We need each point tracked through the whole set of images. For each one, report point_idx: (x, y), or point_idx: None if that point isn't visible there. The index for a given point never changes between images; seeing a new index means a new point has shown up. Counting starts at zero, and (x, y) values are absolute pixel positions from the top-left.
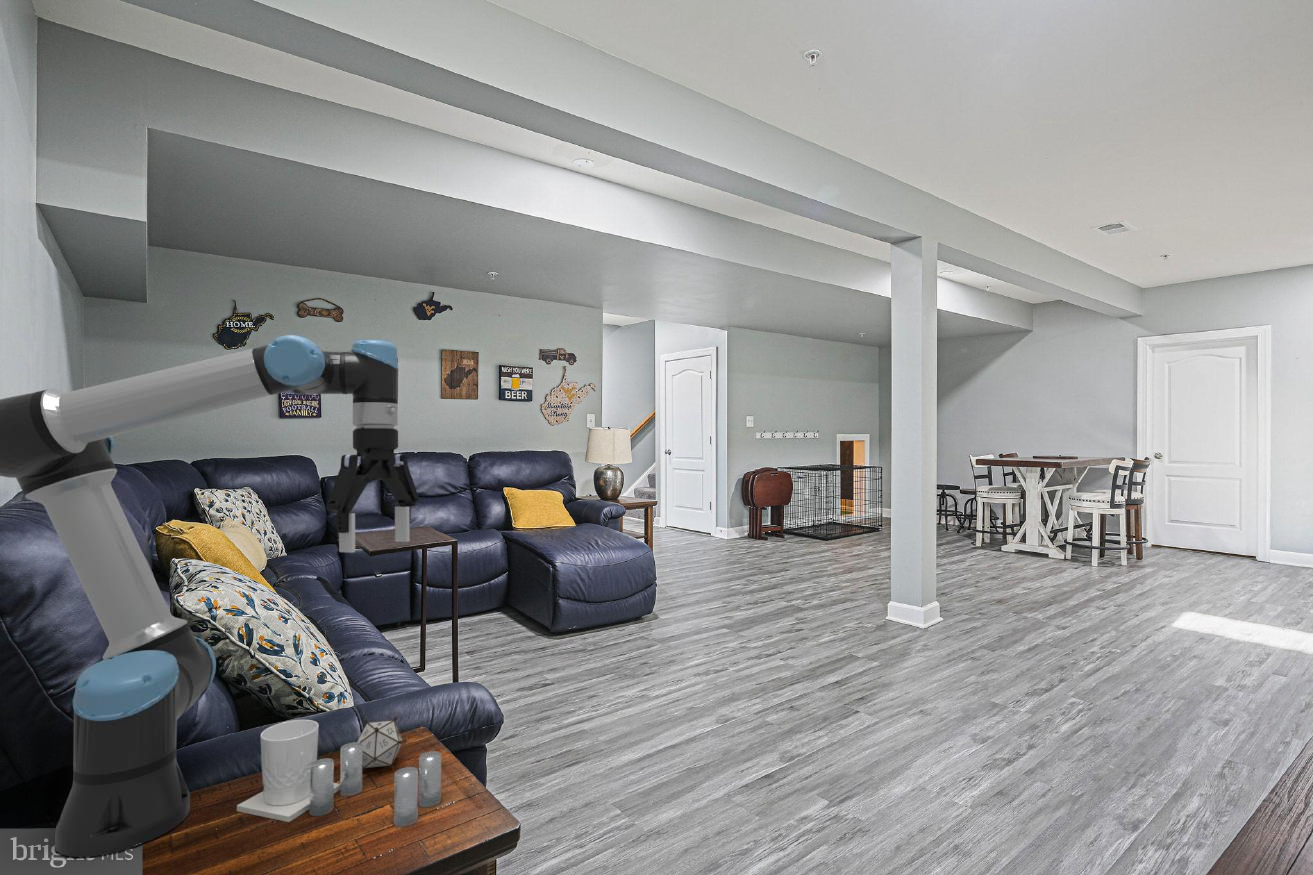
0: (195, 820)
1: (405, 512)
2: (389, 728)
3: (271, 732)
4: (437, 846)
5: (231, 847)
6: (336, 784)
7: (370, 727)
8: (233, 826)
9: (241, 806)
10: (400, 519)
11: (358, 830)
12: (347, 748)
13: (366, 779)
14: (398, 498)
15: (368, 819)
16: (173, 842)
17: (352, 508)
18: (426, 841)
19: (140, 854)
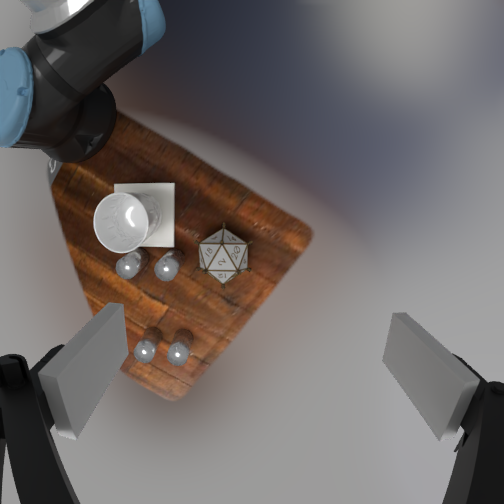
0: (96, 163)
1: (429, 421)
2: (223, 273)
3: (121, 194)
4: (138, 371)
5: (80, 230)
6: (171, 243)
7: (213, 255)
8: None
9: (114, 189)
10: (425, 379)
11: (129, 308)
12: (160, 269)
13: (198, 256)
14: (471, 436)
15: (143, 305)
16: (71, 180)
17: (56, 449)
18: (139, 362)
19: (56, 172)
